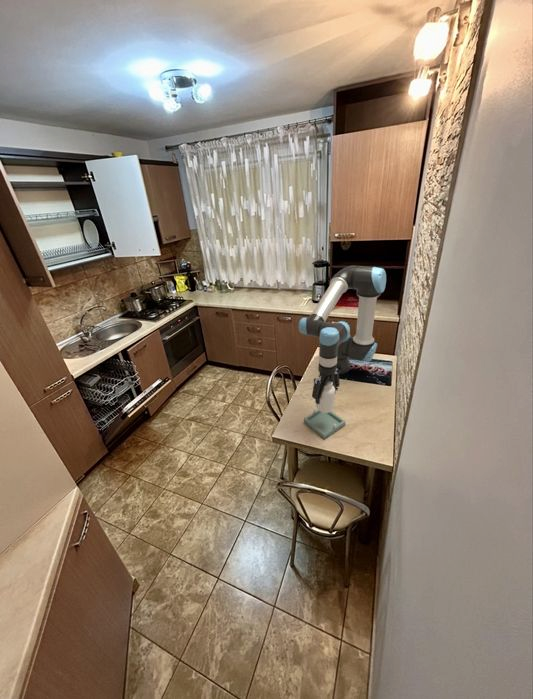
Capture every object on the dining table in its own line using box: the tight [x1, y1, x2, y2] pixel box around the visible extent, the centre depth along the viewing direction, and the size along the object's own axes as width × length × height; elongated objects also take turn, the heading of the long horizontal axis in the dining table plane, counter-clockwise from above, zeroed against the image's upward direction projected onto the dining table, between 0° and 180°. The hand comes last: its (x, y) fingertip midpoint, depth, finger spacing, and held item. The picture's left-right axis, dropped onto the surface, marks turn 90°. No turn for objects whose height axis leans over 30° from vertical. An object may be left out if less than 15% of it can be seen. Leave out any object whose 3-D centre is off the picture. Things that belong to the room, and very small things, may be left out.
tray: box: [303, 408, 346, 440], centre depth 134 cm, size 14×14×4 cm
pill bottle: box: [316, 381, 336, 413], centre depth 126 cm, size 8×8×15 cm
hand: (325, 404), depth 129 cm, fingers closed on pill bottle, 8 cm apart
